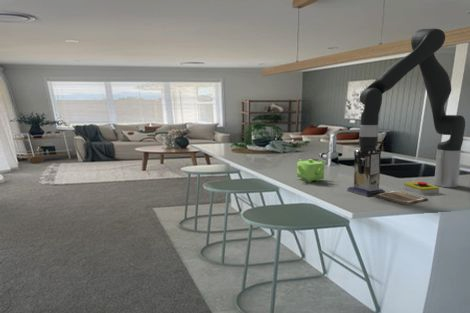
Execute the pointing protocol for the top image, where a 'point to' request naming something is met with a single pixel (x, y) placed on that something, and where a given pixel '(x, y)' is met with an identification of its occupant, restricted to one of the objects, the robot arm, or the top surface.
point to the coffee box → (368, 173)
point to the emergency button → (421, 188)
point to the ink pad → (365, 191)
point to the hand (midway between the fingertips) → (366, 172)
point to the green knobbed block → (310, 170)
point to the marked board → (401, 197)
